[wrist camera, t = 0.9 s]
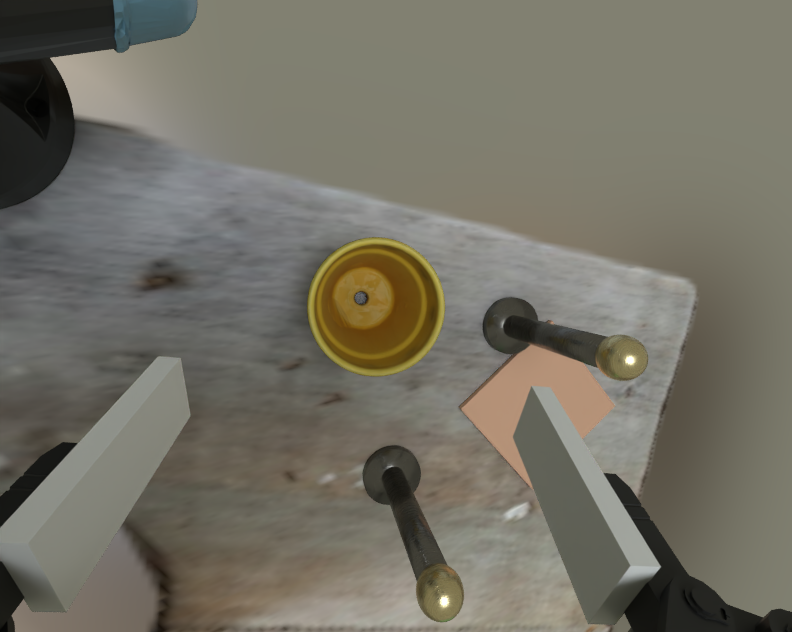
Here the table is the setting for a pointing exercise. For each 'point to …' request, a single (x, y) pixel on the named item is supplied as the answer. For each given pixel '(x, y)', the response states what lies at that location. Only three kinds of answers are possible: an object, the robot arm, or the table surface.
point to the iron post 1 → (414, 530)
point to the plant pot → (376, 306)
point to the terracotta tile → (508, 391)
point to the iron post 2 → (562, 340)
